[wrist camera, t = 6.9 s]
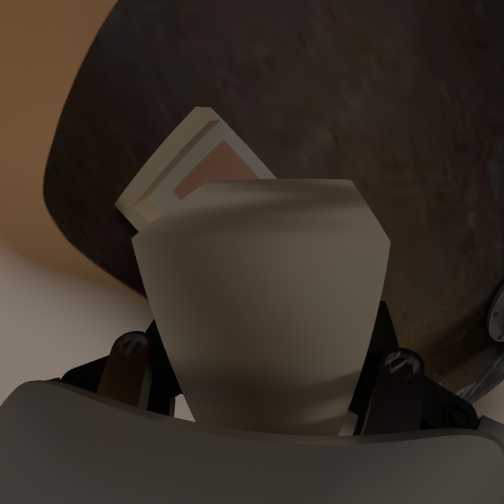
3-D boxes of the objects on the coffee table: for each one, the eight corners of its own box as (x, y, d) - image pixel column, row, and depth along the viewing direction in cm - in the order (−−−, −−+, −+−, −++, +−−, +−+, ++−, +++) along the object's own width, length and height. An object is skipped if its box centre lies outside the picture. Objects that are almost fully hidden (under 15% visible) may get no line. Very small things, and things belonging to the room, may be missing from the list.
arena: (339, 255, 26) (343, 274, 23) (248, 313, 31) (242, 333, 28) (210, 107, 22) (196, 106, 19) (133, 193, 27) (114, 204, 24)
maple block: (350, 179, 9) (390, 242, 5) (330, 365, 13) (329, 454, 9) (207, 181, 10) (131, 238, 5) (232, 359, 14) (205, 442, 9)
